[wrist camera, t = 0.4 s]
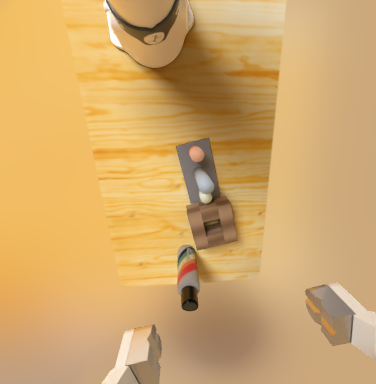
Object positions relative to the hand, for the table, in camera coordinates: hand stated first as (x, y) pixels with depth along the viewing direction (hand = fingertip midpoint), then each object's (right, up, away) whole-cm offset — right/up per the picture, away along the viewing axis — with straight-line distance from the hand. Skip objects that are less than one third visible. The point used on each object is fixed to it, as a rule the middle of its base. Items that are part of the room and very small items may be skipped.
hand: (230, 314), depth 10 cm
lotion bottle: (-3, -13, +51) cm, 52 cm away
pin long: (+1, +12, +42) cm, 43 cm away
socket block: (+4, -2, +47) cm, 47 cm away
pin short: (+2, +6, +44) cm, 44 cm away
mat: (+1, +12, +42) cm, 44 cm away
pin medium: (-1, +17, +40) cm, 43 cm away
